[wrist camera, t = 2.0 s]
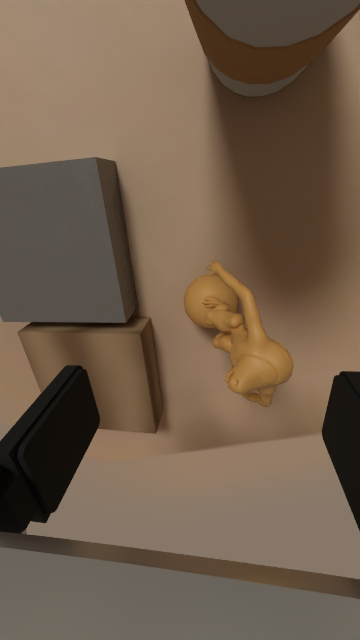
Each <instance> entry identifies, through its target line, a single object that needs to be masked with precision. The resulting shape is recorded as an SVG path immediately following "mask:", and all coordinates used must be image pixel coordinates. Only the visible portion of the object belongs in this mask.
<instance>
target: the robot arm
mask: <svg viewBox="0 0 360 640" xmlns="http://www.w3.org/2000/svg"><path fill="white" fill-rule="evenodd" d="M99 424H100V415H99V412H98V408H97V405H96V401H95V398H94V394H93V391H92V387H91V384H90V380H89V377H88V373H87V371H86V369H83V367H82V366H80V365H66V366H65V367H64V368H63V369H62V370H61V371H60V372H59V373H58V375H57V376H56V377H55V378H54V379H53V380H52V382H51V383H50V384H49V385H48V386H47V387H46V389H45V390H44V391H43V392H42V393H41V394H40V396H39V397H38V398H37V399H36V400H35V401H34V403H33V404H32V405H31V406H30V407H29V408H28V410H27V411H26V412H25V413H24V414H23V415H22V417H21V418H20V419H19V420H18V421H17V422H16V424H15V425H14V426H13V427H12V428H11V429H10V431H9V432H8V433H7V434H6V435H5V436H4V438H3V439H2V440H1V441H0V640H360V579H353V578H347V577H341V576H334V575H327V574H321V573H314V572H307V571H300V570H292V569H285V568H278V567H271V566H264V565H256V564H249V563H242V562H235V561H228V560H220V559H213V558H206V557H198V556H190V555H184V554H176V553H169V552H161V551H153V550H146V549H138V548H131V547H123V546H116V545H108V544H100V543H91V542H84V541H76V540H69V539H61V538H53V537H45V536H36V535H27V533H26V528H27V526H28V524H29V522H30V521H33V522H41V523H46V522H47V520H48V518H49V516H50V514H51V513H53V512H55V511H56V509H57V508H58V506H59V504H60V502H61V500H62V498H63V496H64V494H65V492H66V490H67V488H68V486H69V484H70V482H71V480H72V478H73V476H74V474H75V472H76V470H77V468H78V466H79V464H80V462H81V460H82V458H83V456H84V455H85V453H86V451H87V449H88V447H89V445H90V443H91V441H92V439H93V437H94V435H95V433H96V431H97V429H98V427H99ZM322 436H323V440H324V443H325V445H326V448H327V450H328V453H329V455H330V458H331V460H332V463H333V465H334V468H335V470H336V473H337V475H338V478H339V480H340V483H341V485H342V488H343V490H344V492H345V495H346V498H347V500H348V503H349V505H350V508H351V510H352V513H353V515H354V518H355V520H356V523H357V525H358V528H359V530H360V372H349V371H342V372H341V373H340V374H339V375H336V376H335V377H334V380H333V384H332V388H331V393H330V397H329V401H328V406H327V410H326V414H325V419H324V423H323V428H322Z"/></svg>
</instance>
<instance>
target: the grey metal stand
mask: <svg viewBox="0 0 360 640" xmlns="http://www.w3.org/2000/svg"><path fill="white" fill-rule="evenodd" d="M137 307H138V306H137V299H136V293H135V287H134V280H133V274H132V268H131V261H130V255H129V248H128V242H127V236H126V229H125V223H124V217H123V210H122V204H121V197H120V191H119V185H118V178H117V172H116V166H115V161H111V160H106V159H102V158H97V157H93V158H84V159H75V160H66V161H57V162H48V163H39V164H30V165H21V166H12V167H3V168H0V315H1V318H2V320H3V322H101V323H126V322H127V321H128V319H129V318H130V317H131V315H132V314H133V313H134V311H135V310H136V309H137Z"/></svg>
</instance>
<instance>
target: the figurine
mask: <svg viewBox="0 0 360 640" xmlns="http://www.w3.org/2000/svg"><path fill="white" fill-rule="evenodd" d="M213 261H214V264H213V263H209V265H211V266H212V267H208V268H206V269H208V270H211V271H212V272H211V273H210V274H208V275H204V276H201V277H199V278H197V279H195V280H194V281H193V282H192V283H191V284H190V285H189V287H188V288H187V290H186V293H185V296H184V307H185V311H186V313H187V315H188V317H189V318H190V319H191V320H192V321H193V322H194V323H195V324H197V325H199V326H201V327H204V328H217V329H218V330H220V331H221V332H220V333H219V334H218V335H217V336H216V337H215V338H214V340H213V346H214V347H215V348H219V349H222V350H224V351H226V352H228V353H230V356H231V362H232V366H233V368H232V369H231V370H230V371H229V372H228V374H227V375H226V379H225V381H226V382H227V383H228V387H229V389H230V390H232V391H233V392H236V393H238V394H241V395H242V396H244V397H245V398H247V399H248V400H250V401H253V402H257V403H259V404H260V405H262V406H265V407H268V406H270V405H271V403H272V397H273V393H274V391H275V388H276V385H279V384H282V383H284V382H286V381H287V380H288V379H289V378H290V376H291V374H292V371H293V361H292V358H291V356H290V354H289V352H288V351H287V350H286V349H285V348H284V347H283V346H282V345H281V344H279V343H278V342H276V341H274V340H272V339H269V338H268V336H267V334H266V332H265V331H264V329H263V326H262V323H261V319H260V315H259V312H258V308H257V305H256V302H255V299H254V296H253V294H252V293H251V291H250V290H249V289H248V288H247V287H246V286H244V285H243V284H241V283H240V282H239V281H238V280H237V279H236V278H235V277H233V276H232V275H231V274H230V273H228V272H227V271H225V270H224V269H223V267H222V266H221V264H220V263H219V262H217V261H215V260H213ZM216 273H217V274H218V275H214V274H216ZM238 297H239V298H240V299H241V300H242V304H243V311H244V317H245V322H246V326H247V329H246V328H245V327H244V319H243V317H242V315H240V314H238V313H236V310H237V307H238ZM255 389H257V390H258V391H259V395H258V394H255V393H248V392H250V391H252V390H255Z"/></svg>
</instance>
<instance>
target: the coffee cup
mask: <svg viewBox="0 0 360 640" xmlns="http://www.w3.org/2000/svg"><path fill="white" fill-rule="evenodd" d="M185 3H186V5H187V8H188V11H189V14H190V16H191V19H192V22H193V25H194V27H195V30H196V33H197V36H198V38H199V41H200V43H201V46H202V48H203V51H204V54H205V55H206V56H207V58H208V61H209V63H210V66H211V69H212V71H213V72H214V73H215V75H216V76H217V78H218V79H219V80H220V82H221V83H222V84H223V85H225V86H226V87H227V88H229V89H230V90H231V91H233V92H235V93H238V94H241V95H244V96H247V97H257V96H265V95H268V94H271V93H274V92H277V91H279V90H280V89H282V88H283V87H285V86H286V85H288V84H289V83H291V82H292V81H293V80H294V79H295V78H296V77H297V76H298V75H299V74H300V73H301V72H302V71H303V70H304V69H305V68H306V67H307V66H308V65H309V64H310V63H311V62H312V61H313V60H314V59H315V58H316V57H317V56H318V55H319V54H320V52H321V51H322V50H323V49H324V48H325V47H326V46H327V45H328V44H329V43H330V42H331V41H332V40H333V39H334V37H335V36H336V35H337V34H338V33H339V32H340V31H341V30H342V29H343V27H344V26H345V25H346V24H347V23H348V22H349V21H350V20H351V18H352V17H353V16H354V15H355V14H356V13H357V12H358V11H359V10H360V0H185Z"/></svg>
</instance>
